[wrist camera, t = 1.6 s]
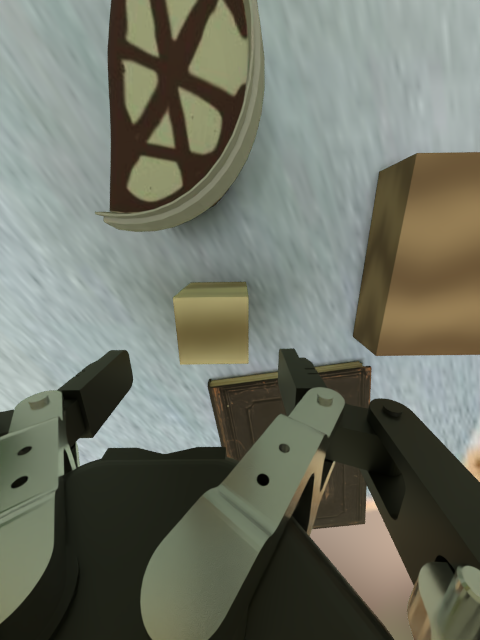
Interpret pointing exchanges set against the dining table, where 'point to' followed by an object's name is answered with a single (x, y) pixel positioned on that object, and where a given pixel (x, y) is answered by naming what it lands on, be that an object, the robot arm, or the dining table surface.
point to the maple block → (212, 323)
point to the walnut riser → (423, 259)
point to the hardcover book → (266, 404)
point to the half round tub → (180, 106)
